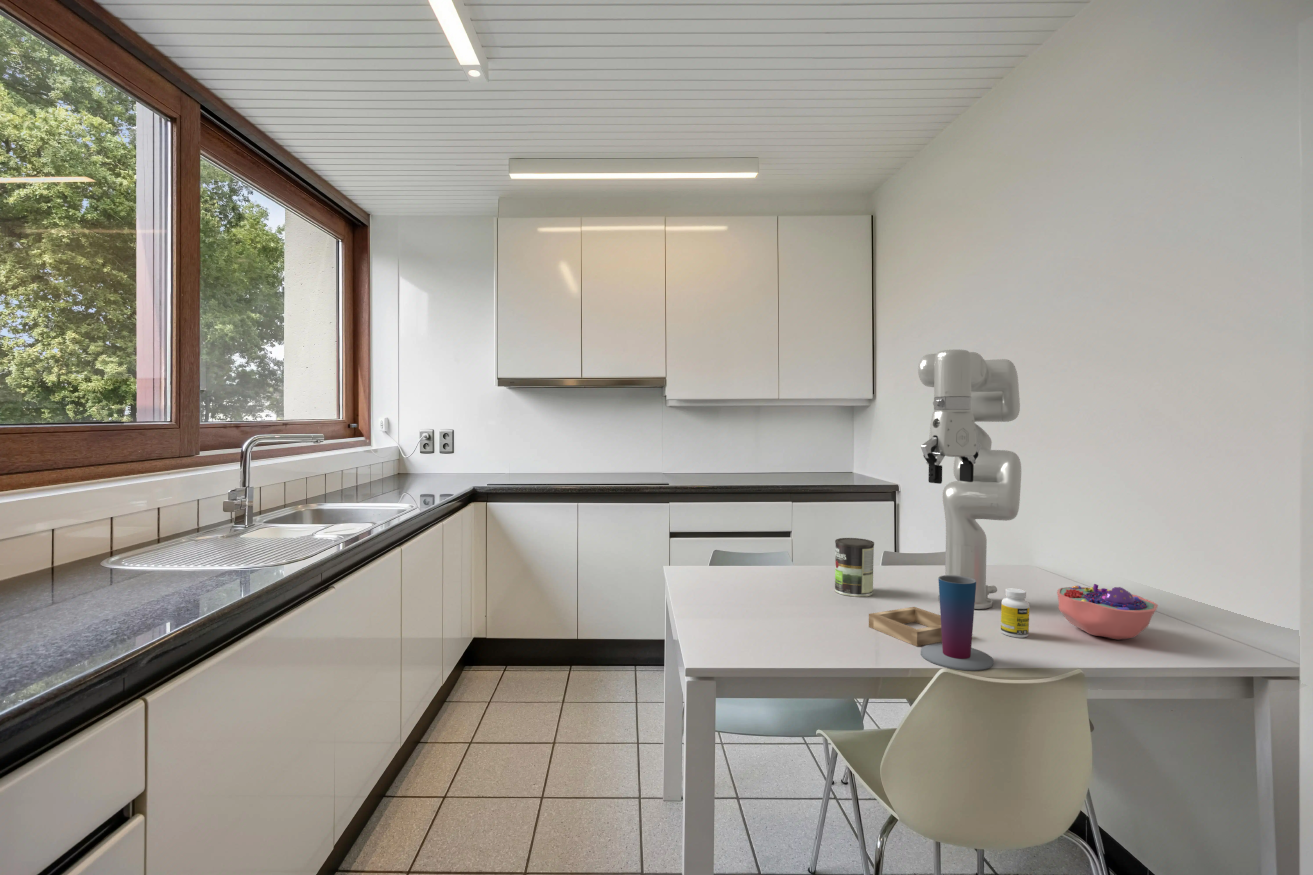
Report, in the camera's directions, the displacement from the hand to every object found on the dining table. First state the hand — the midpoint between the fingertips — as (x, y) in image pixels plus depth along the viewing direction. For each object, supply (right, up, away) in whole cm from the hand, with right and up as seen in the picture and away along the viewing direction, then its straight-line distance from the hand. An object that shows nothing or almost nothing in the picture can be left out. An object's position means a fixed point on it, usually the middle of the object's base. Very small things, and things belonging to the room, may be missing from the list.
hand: (951, 482), depth 144 cm
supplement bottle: (+13, -34, -2) cm, 36 cm away
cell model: (+33, -34, -2) cm, 47 cm away
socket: (-8, -33, -1) cm, 34 cm away
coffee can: (-12, -33, +33) cm, 48 cm away
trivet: (-6, -34, -16) cm, 38 cm away
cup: (-6, -33, -16) cm, 38 cm away
